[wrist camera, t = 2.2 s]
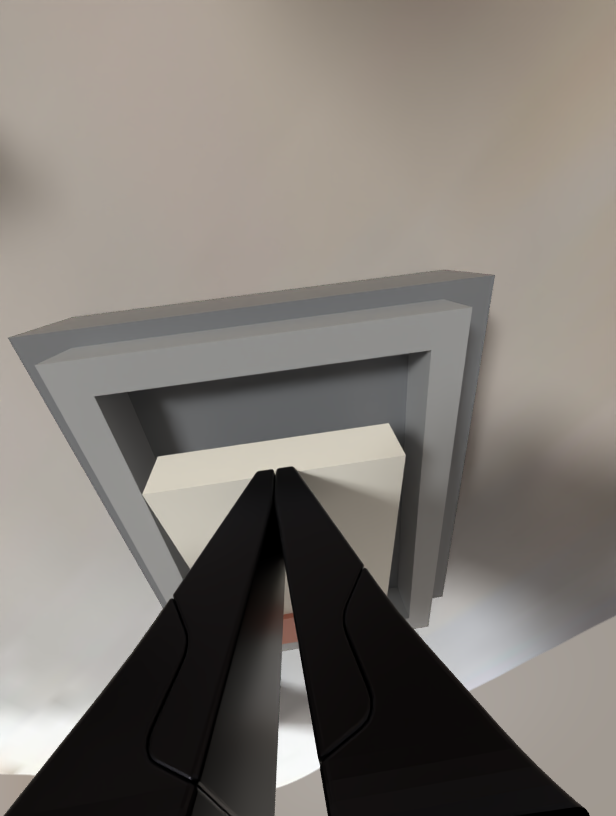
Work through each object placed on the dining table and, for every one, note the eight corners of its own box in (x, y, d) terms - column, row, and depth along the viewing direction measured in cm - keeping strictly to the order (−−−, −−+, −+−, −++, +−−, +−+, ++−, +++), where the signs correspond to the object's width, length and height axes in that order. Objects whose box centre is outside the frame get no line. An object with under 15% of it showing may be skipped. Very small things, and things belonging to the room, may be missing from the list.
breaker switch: (375, 594, 14) (384, 628, 13) (243, 615, 14) (241, 653, 12) (388, 422, 8) (408, 459, 7) (157, 456, 8) (140, 499, 7)
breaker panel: (418, 548, 19) (457, 626, 15) (194, 584, 18) (172, 675, 15) (444, 269, 12) (533, 278, 8) (71, 317, 11) (-43, 353, 7)
